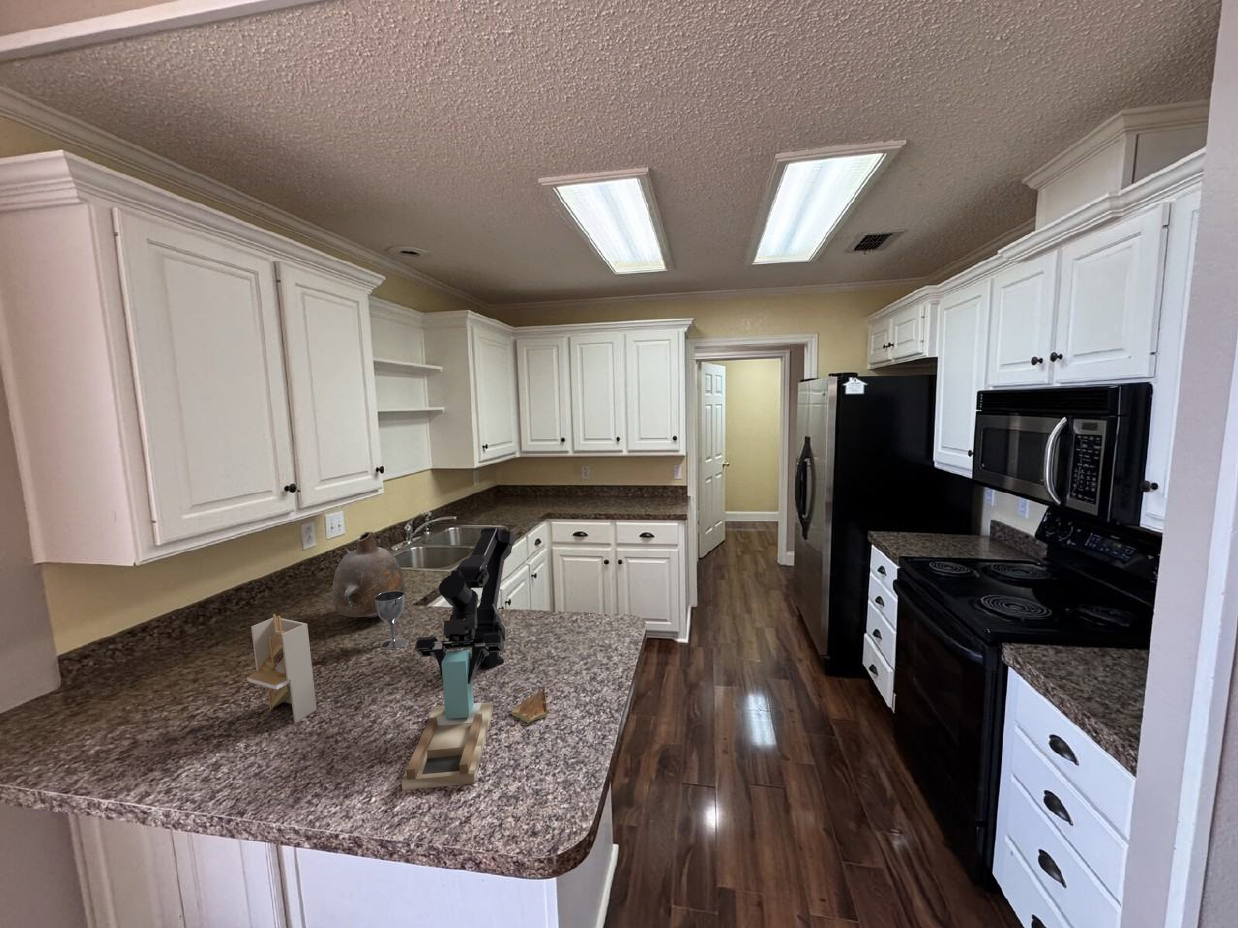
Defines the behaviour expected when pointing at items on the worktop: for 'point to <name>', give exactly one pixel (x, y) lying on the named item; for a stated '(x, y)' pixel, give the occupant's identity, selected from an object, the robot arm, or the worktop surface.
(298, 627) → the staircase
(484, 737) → the beige tray
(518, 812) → the worktop surface
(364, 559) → the jug
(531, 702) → the shard
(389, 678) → the worktop surface
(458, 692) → the tall block
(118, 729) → the worktop surface
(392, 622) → the wine glass
